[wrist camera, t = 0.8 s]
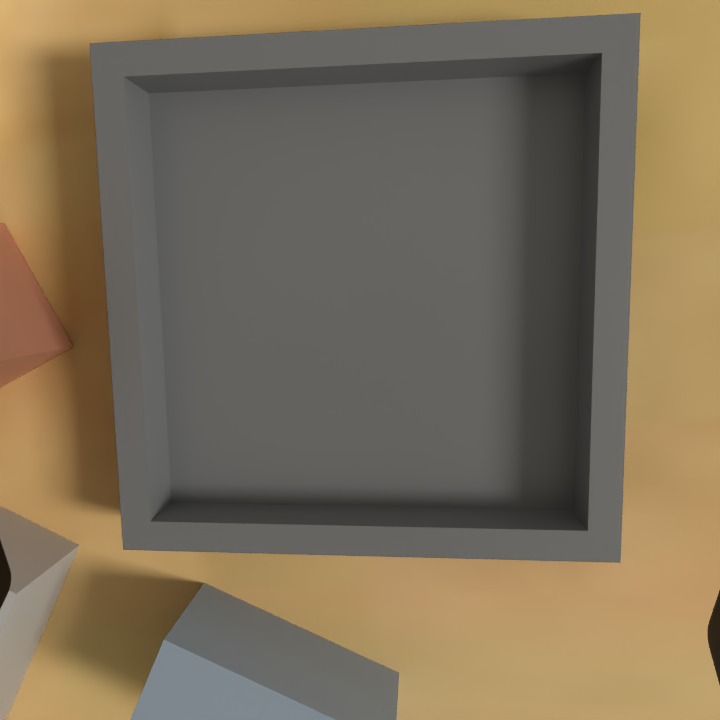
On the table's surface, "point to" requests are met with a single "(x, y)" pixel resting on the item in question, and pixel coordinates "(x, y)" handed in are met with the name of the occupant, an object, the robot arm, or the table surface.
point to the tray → (371, 287)
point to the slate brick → (259, 670)
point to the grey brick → (27, 595)
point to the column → (24, 316)
